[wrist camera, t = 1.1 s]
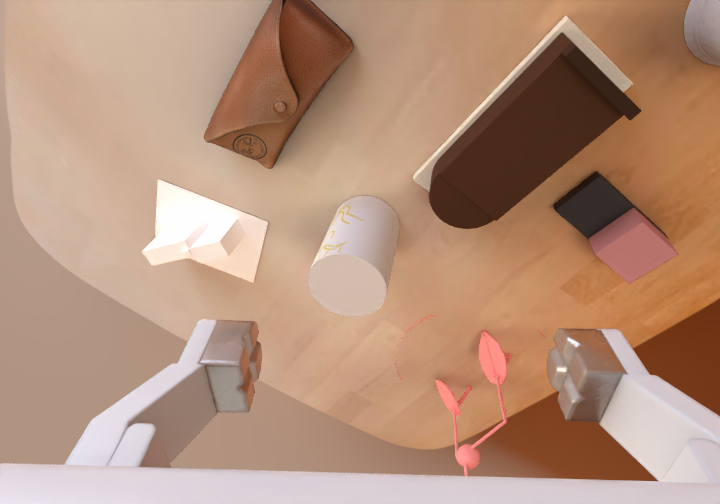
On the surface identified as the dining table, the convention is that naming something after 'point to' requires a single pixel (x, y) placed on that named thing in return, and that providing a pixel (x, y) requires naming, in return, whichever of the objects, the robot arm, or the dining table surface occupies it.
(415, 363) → the dining table surface
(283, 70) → the sunglasses case
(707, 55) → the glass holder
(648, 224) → the two-tone stepped block
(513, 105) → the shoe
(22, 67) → the dining table surface
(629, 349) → the robot arm
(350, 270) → the cup
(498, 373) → the figurine
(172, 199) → the napkin holder
